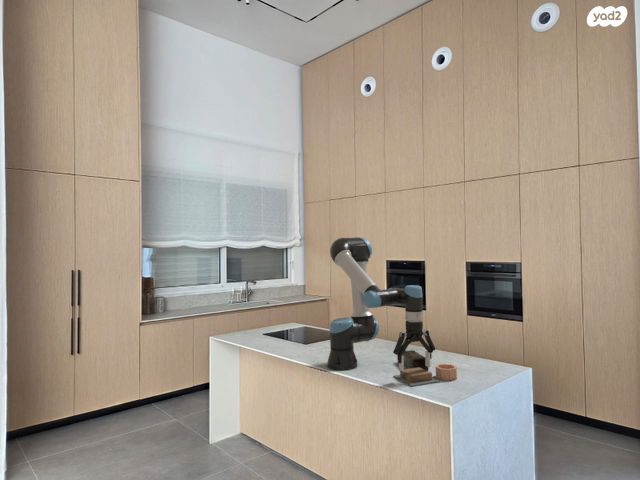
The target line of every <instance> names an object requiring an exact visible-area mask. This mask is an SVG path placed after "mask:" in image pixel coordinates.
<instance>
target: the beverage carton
mask: <svg viewBox="0 0 640 480" xmlns="http://www.w3.org/2000/svg"><path fill="white" fill-rule="evenodd" d="M402 355H403V356H404V367H406V368H407V369H410V368H417V367H420V368H422V369H424V370H426V371H428V372H429V367H427V366H425V355H422V354H420V353H419V352H417V351H415V350H414V349H413V350H407V349H406V350H405V351H404V353H403V354H402Z"/></svg>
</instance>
